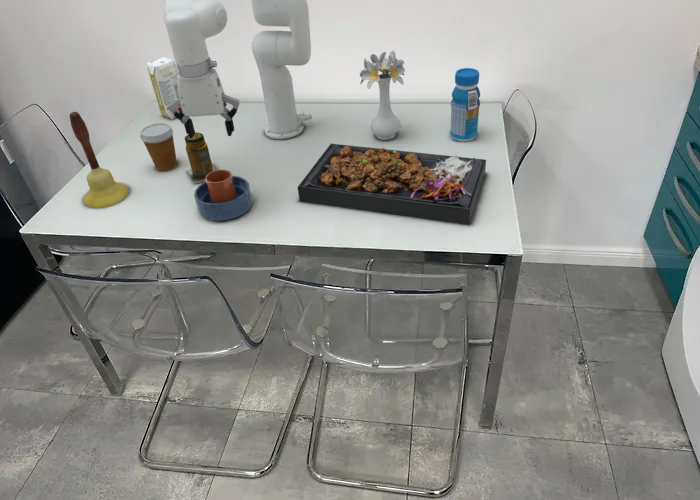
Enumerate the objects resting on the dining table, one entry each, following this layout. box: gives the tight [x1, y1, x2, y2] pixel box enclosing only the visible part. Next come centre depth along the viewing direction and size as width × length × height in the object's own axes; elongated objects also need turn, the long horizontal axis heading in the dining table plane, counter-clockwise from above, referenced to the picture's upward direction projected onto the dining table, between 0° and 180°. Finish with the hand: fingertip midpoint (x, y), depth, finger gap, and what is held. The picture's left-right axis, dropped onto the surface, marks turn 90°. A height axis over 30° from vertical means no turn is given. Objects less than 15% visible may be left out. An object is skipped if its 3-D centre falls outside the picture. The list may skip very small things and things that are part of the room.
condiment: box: [184, 131, 216, 184], centre depth 161 cm, size 7×8×12 cm
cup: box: [205, 169, 237, 204], centre depth 147 cm, size 7×7×9 cm
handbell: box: [69, 111, 130, 209], centre depth 152 cm, size 12×12×25 cm
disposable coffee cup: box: [139, 122, 178, 172], centre depth 167 cm, size 10×10×12 cm
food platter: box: [297, 143, 487, 225], centre depth 149 cm, size 45×25×10 cm, turn 71°
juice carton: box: [146, 56, 184, 120], centre depth 195 cm, size 8×9×19 cm
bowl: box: [193, 174, 253, 222], centre depth 149 cm, size 14×14×6 cm
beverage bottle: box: [449, 67, 481, 142], centre depth 166 cm, size 8×8×20 cm
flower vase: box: [359, 50, 406, 141], centre depth 169 cm, size 13×18×25 cm
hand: (211, 134), depth 140 cm, fingers open, 9 cm apart
